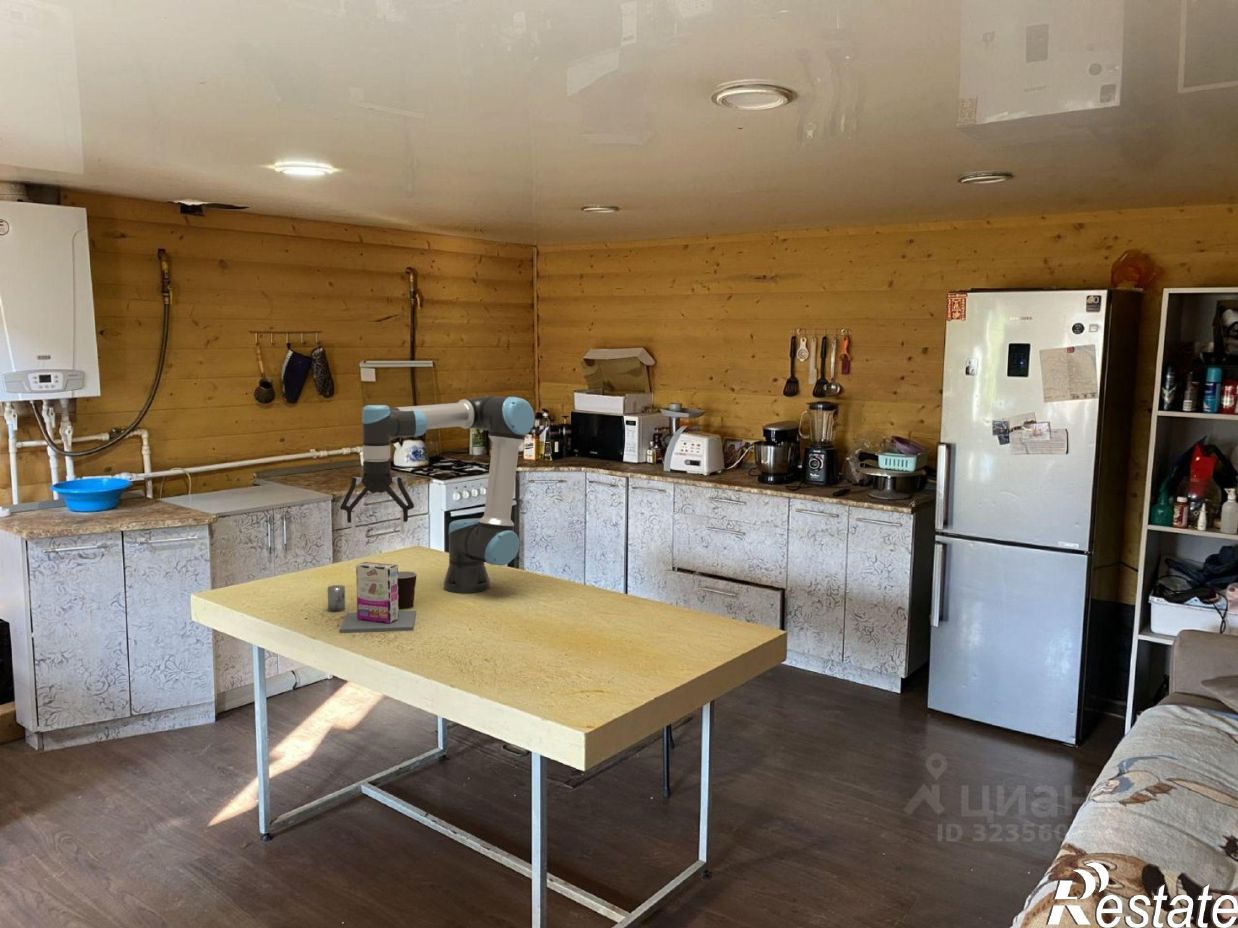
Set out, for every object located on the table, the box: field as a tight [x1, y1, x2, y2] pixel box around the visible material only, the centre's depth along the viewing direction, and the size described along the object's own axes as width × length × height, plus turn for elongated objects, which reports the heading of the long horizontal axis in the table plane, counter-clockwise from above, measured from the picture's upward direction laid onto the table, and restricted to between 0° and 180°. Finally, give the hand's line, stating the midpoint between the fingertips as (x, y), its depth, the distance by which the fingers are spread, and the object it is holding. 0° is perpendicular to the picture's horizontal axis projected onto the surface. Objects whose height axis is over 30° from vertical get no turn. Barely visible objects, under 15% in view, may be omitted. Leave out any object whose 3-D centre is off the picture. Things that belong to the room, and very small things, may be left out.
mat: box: [339, 610, 417, 634], centre depth 259 cm, size 20×16×1 cm
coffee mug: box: [398, 570, 418, 610], centre depth 277 cm, size 12×9×10 cm
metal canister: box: [326, 584, 346, 613], centre depth 271 cm, size 5×5×7 cm
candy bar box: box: [355, 561, 400, 624], centre depth 258 cm, size 11×5×16 cm, turn 72°
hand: (378, 533), depth 256 cm, fingers open, 13 cm apart
